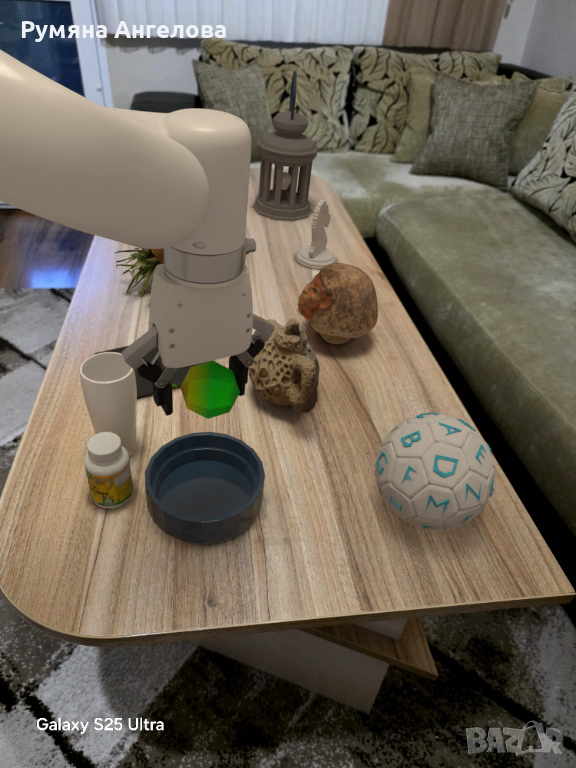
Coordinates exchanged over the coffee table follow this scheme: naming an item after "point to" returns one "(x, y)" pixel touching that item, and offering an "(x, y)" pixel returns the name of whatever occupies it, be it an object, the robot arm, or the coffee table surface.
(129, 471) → the supplement bottle
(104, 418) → the drinking glass
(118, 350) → the mat
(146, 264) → the potted plant
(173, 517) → the bowl
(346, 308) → the sculpture
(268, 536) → the coffee table surface
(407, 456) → the puzzle ball
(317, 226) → the chess piece
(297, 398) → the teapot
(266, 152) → the lantern
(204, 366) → the apple
